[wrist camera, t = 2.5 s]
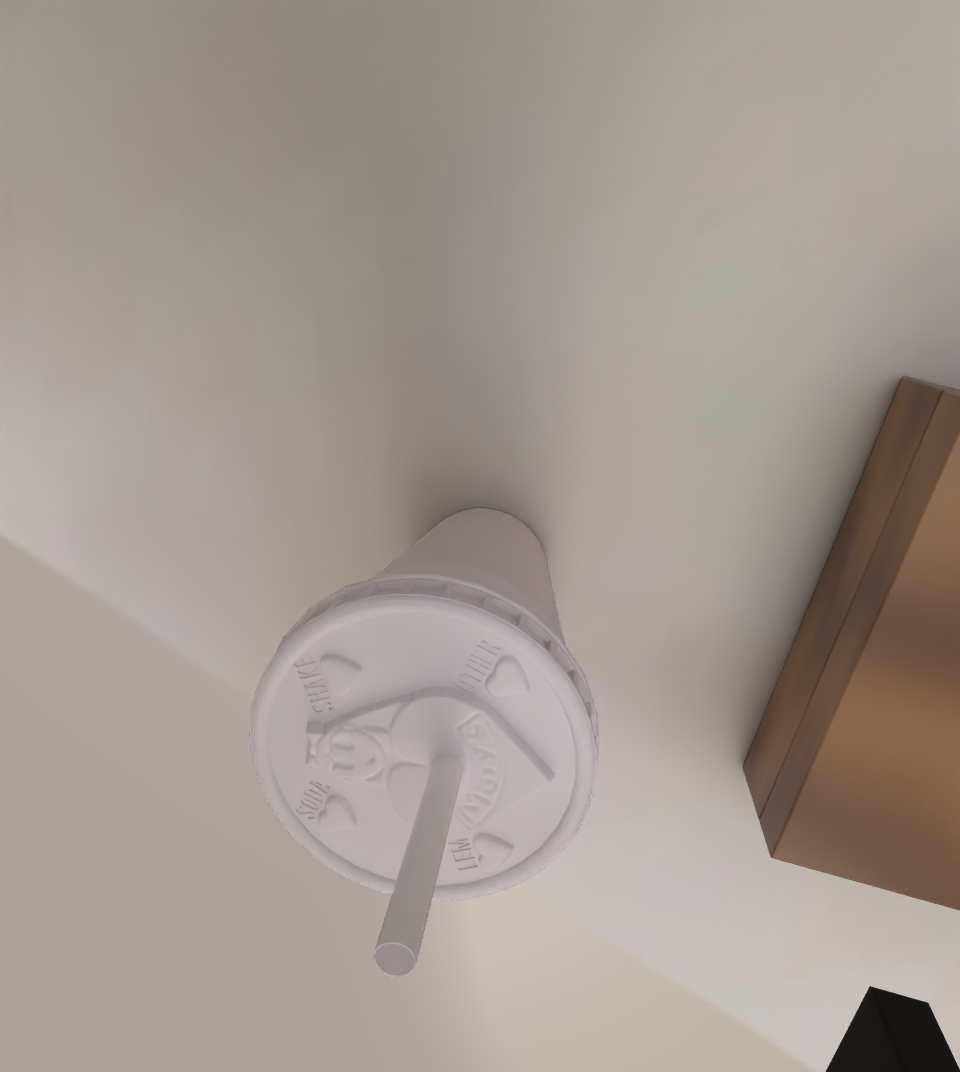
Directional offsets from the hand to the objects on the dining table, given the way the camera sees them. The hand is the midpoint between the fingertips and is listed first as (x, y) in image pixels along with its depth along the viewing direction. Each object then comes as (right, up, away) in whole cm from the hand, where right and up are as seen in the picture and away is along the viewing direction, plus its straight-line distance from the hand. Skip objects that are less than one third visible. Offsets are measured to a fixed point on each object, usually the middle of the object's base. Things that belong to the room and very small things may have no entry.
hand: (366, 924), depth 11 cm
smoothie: (+2, +4, +13) cm, 14 cm away
